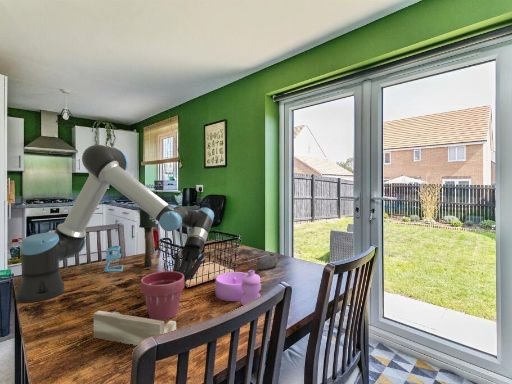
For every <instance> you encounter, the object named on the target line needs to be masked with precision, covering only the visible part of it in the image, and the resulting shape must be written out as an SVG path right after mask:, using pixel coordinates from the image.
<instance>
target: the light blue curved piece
mask: <svg viewBox="0 0 512 384" xmlns="http://www.w3.org/2000/svg"><path fill="white" fill-rule="evenodd" d="M111 252H117V253H115V254H110V253H111ZM105 253H106V257H105V260H106V261H107V262H106V264H105V267H104V271H103V272H105V273H106V272H123V270H124V264H123V265H121V264H119V265H115V266H110V264H111V263H112V261H115V260H118V259H119V260H120V259H121V257H122V253H121V246H120V245H114V246H113V245H112V246H110V247H108V248H107V249H106V250H105Z"/></svg>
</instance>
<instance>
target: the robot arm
mask: <svg viewBox="0 0 512 384" xmlns="http://www.w3.org/2000/svg"><path fill="white" fill-rule="evenodd" d="M81 162H82V165H83V167H84V168H85V169H86V171H87V173H88V177H87V179H86V181H85V183H84V184H83V186H82V188H81V190H80V192H79V194H78V196H76V197H77V198H76V199H75V201H74V203H73V205H72V207H71V209H70V211H69V212H68V215H67V217H66V218H65V220H64V221H63V223H62V222H61V223H59V224H58V225H57V227H56V228H55V230H54V231H53V232H42V233H35V234H32V235H29V236H27V237H25V238H24V239H23V240H22V241H21V246H20V247H21V248H20V252H21V253H20V261H21V279H20V283H19V284H18V288H17V291H16V292H15V293H16V294H15V298H16V299H15V300H16V301H17V302H18V303H19V302H20V303H36V302H42V301H47V300H50V299H52V298H55V297H57V296H60V295H62V294H63V293H64V292H65V291H66V290H65V289H66V288H65V283H64V282H63V279H62V276H61V274H60V262H62V261H64V260H67V259H69V258H72V257H74V256H76V255H78V254H79V253H81V252H82V251H83V250H84V248H85V246H86V243H87V239H86V237H87V231H86V228H87V227H88V225H89V223H90V221H91V219H92V218H93V216H94V213H95V212H96V210H97V208H98V207H99V205H100V203H101V201H102V199H103V196H104V195H105V193H106V192H107V189H108V187H109V186H112V187H113V188H114V189H116V190H117V191H118V192H119V193H121V194H122V195H123V196H124V197H126V199H127V198H128V200H130V201H131V202H132V203H133V204H134V205H136V206H137V207H139V208H140V209H143V210H144V211H146V212H147V213H148V214H149V215H151V216H152V217H153V218H155V219H156V222H158V223H159V226H160V227H161V229H162V230H163V231H166V232H173V231H177V230H178V229H179V228H181V227H182V226H184V227H188V228H190V231H189V233H188V236H187V239H186V241H185V243H184V246H183V249H181V251H180V252H175V253H174V257H175V259H174V263H173V270H172V271H175V272H180V273H182V274H183V275H184V287H185V286H186V283H187V281H188V280H193V279H194V278H195V275H196V274H197V272H198V270H199V269H200V267H201V265H202V264H203V263H204V262H205V261H206V257H205V255H204V254H203V252H202V251H203V249H204V247H205V243H206V241H207V239H208V236H209V232H210V230H211V227H212V225H213V222H214V217H215V213H214V210H212V209H211V208H208V207H201V208H199V209H198V211H197V210H193V209H189V208H186V207H182V206H180V205H174V204H173V205H172V204H171V205H170V204H169V203H168V202H166V201H165V200H164V199H162V198H161V197H160V196H158V195H157V194H156V193H155V192H153V191H152V190H151V189H149V188H148V187H147V186H145V185H144V184H143V183H142V182H140V181H139V180H138V179H136V178H135V177H134V176H132V175H131V174H130V173H128V171H127V169H128V166H129V159H128V157H127V155H126V153H125V152H124V151H123V150H121V149H118V148H117V147H111V146H106V145H102V144H93V145H91V146H88V147H87V148H86V149H85V150H84V151H83V153H82V156H81Z"/></svg>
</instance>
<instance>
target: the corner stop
mask: <svg viewBox="0 0 512 384" xmlns="http://www.w3.org/2000/svg"><path fill="white" fill-rule="evenodd" d="M92 319H93V338H95V339H101V340H105V341H111V342H115V341H116V342H115V343H120V342H121V344H125V345H130V344H133V345H132V346H135V347H137V346H136V345H137V344H138V343H139V342H140V341H142V340H143V339H145V338H148V337H151V336H155V335H159V334H164V333H168V332H171V331H174V330H176V331H177V321H176V320H169V321H168V322H167V323H165V320H153V319H151V318H147V317H141V316H136V315H135V316H134V315H127V314H121V313H120V311H112V312H109V311H103V310H98V311H96V312H94V313H93V318H92Z"/></svg>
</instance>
